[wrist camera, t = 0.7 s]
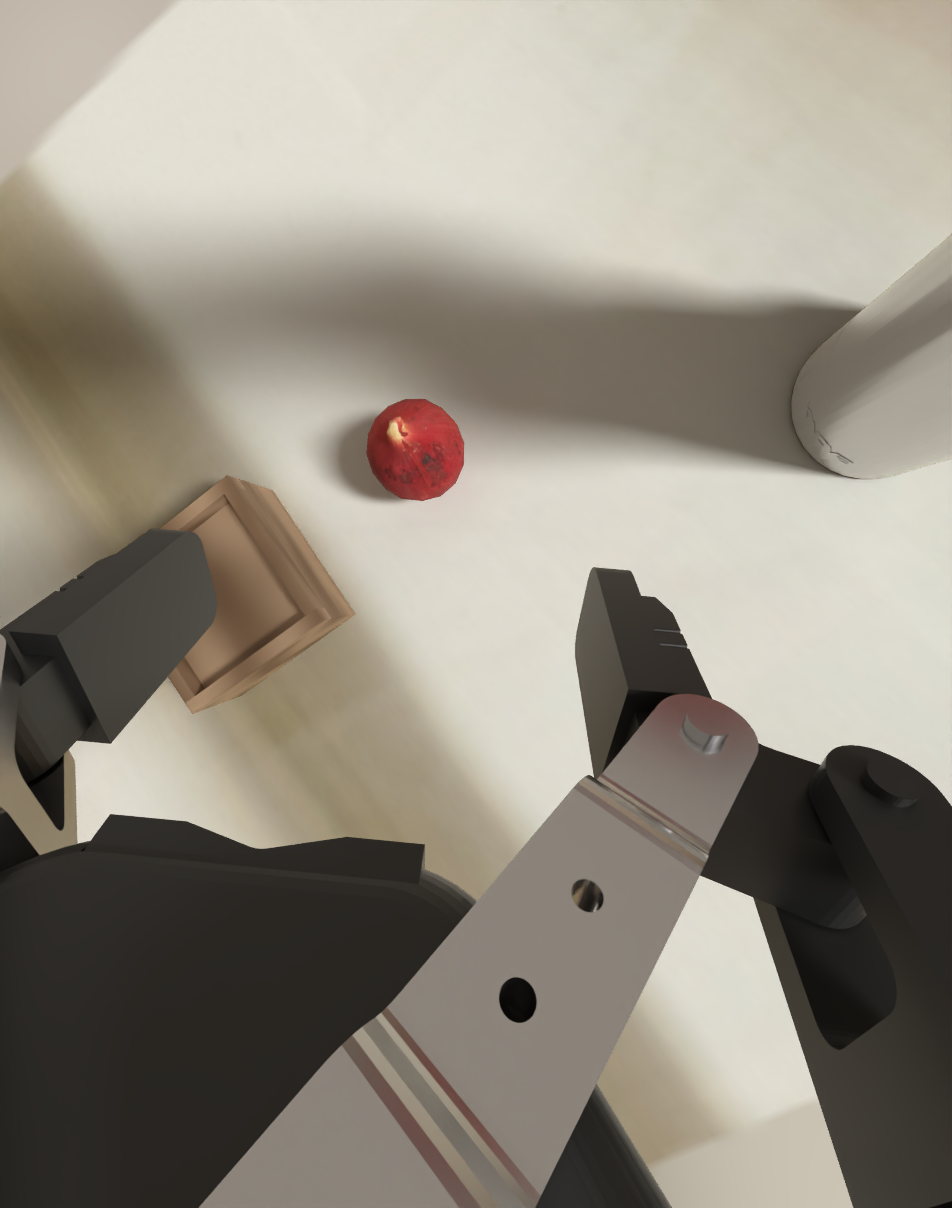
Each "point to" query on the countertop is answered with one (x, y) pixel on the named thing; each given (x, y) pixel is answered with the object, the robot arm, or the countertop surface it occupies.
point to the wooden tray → (252, 593)
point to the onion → (415, 449)
